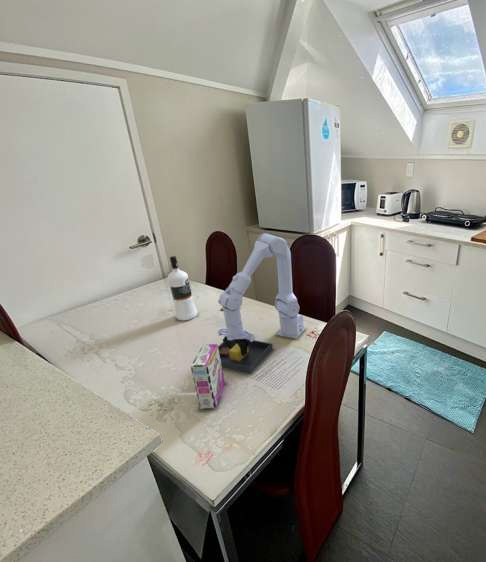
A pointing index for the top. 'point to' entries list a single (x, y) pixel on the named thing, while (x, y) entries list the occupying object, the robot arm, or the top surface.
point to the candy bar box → (208, 376)
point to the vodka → (181, 292)
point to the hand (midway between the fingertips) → (239, 353)
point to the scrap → (224, 352)
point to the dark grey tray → (247, 356)
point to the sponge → (236, 353)
